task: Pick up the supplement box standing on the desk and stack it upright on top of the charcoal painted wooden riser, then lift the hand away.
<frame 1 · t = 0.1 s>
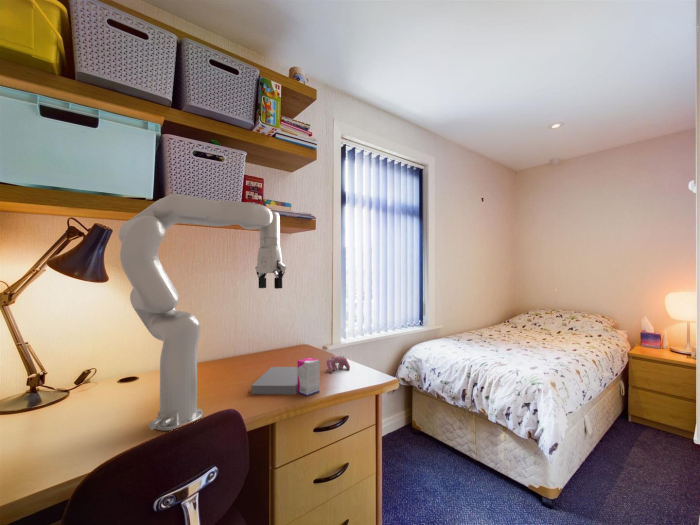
hand: (270, 288, 116), 37 cm above the table, tool pointing down, fingers open, 9 cm apart
supplement box: (308, 392, 108), on the table
riser: (282, 383, 118), on the table
pink toy elephant: (338, 370, 134), on the table
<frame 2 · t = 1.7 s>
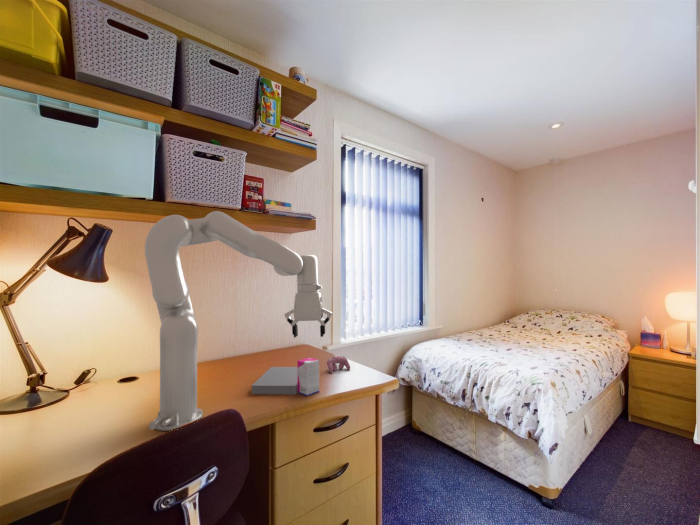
hand: (308, 336, 110), 20 cm above the table, tool pointing down, fingers open, 9 cm apart
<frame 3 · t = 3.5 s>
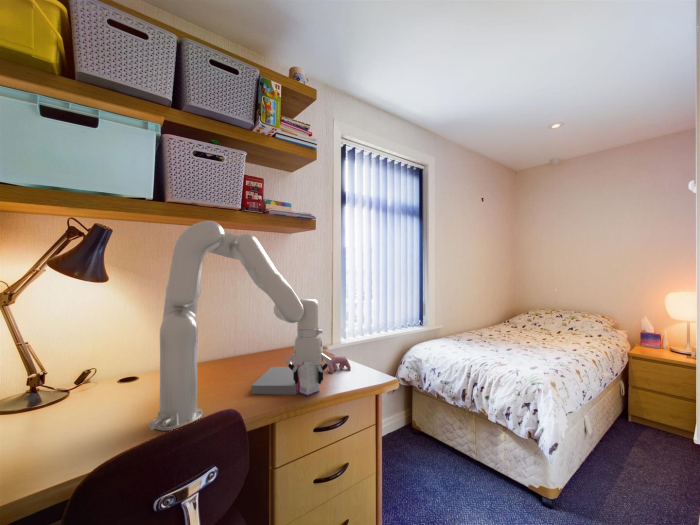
hand: (308, 382, 109), 4 cm above the table, tool pointing down, fingers closed on supplement box, 7 cm apart
supplement box: (308, 392, 108), on the table, touching gripper
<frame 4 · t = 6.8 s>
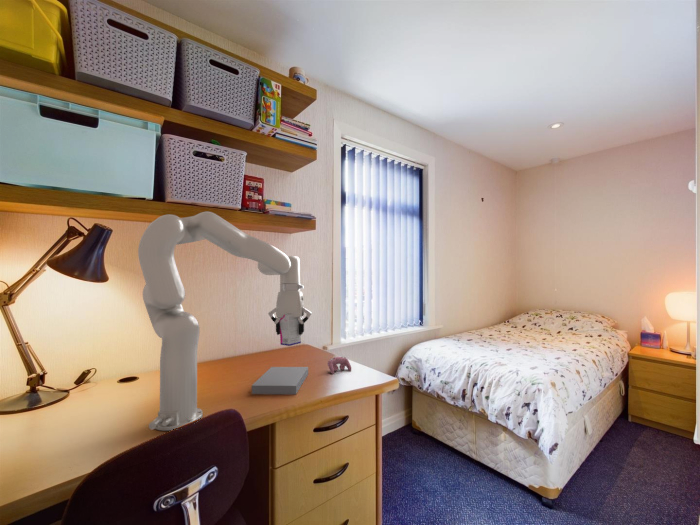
hand: (289, 333, 116), 20 cm above the table, tool pointing down, fingers closed on supplement box, 8 cm apart
supplement box: (290, 344, 115), point 16 cm above the table, touching gripper
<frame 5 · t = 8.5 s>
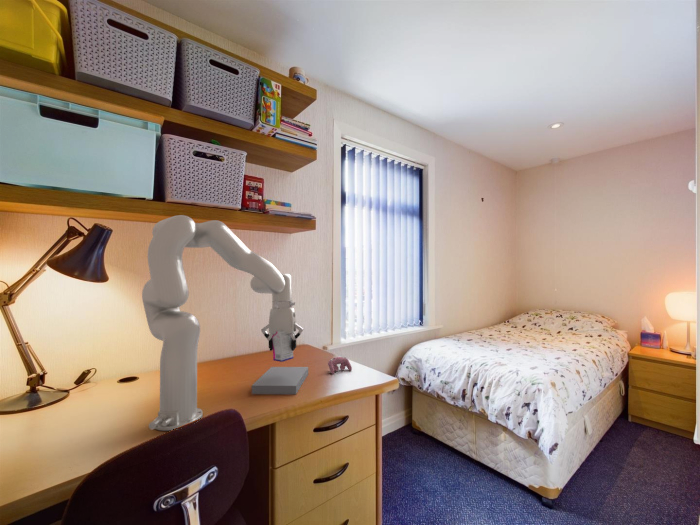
hand: (282, 349, 119), 13 cm above the table, tool pointing down, fingers closed on supplement box, 8 cm apart
supplement box: (283, 359, 119), point 9 cm above the table, touching gripper
when the fingers open (8 cm above the table, at t = 10.0 s): supplement box drops 2 cm, resting on riser.
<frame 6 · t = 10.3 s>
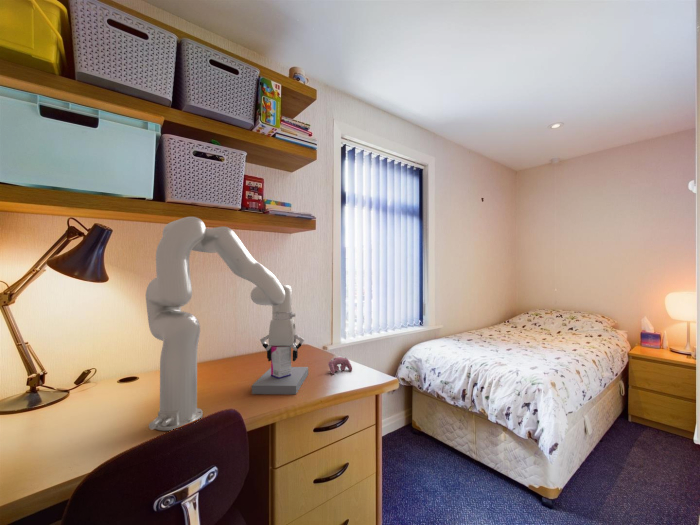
hand: (282, 360, 119), 9 cm above the table, tool pointing down, fingers open, 9 cm apart
supplement box: (281, 376, 118), point 3 cm above the table, touching riser
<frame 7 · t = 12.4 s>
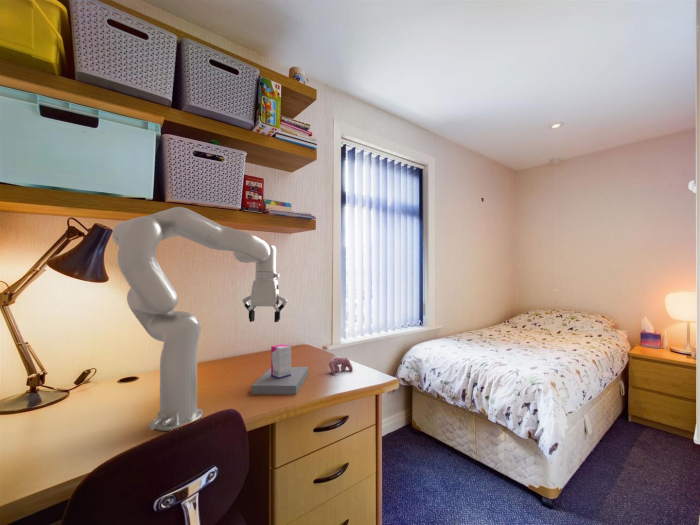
hand: (264, 321, 115), 25 cm above the table, tool pointing down, fingers open, 9 cm apart
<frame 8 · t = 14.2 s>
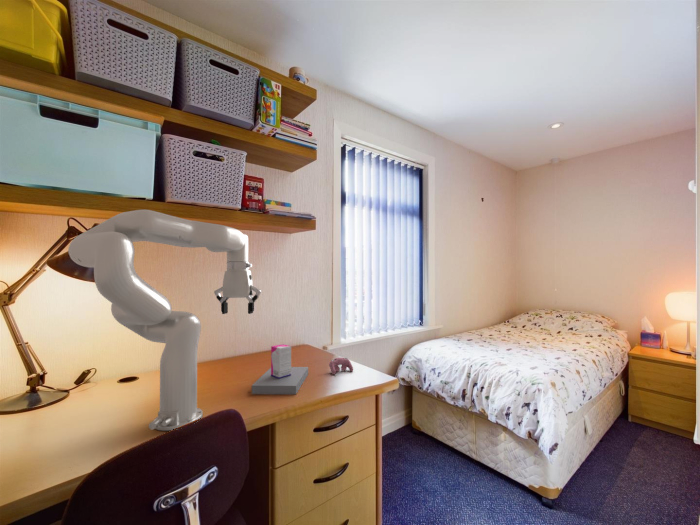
hand: (237, 313, 111), 28 cm above the table, tool pointing down, fingers open, 9 cm apart
at the end: supplement box inside the target area on the riser (0.6 cm from its centre), point 2.8 cm above the riser's base; supplement box tilted 0°; the gripper is holding nothing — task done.
